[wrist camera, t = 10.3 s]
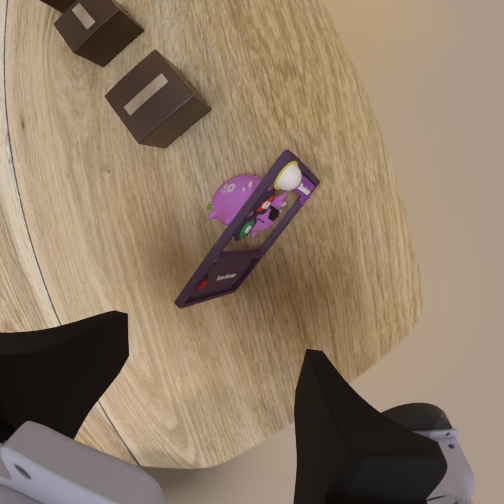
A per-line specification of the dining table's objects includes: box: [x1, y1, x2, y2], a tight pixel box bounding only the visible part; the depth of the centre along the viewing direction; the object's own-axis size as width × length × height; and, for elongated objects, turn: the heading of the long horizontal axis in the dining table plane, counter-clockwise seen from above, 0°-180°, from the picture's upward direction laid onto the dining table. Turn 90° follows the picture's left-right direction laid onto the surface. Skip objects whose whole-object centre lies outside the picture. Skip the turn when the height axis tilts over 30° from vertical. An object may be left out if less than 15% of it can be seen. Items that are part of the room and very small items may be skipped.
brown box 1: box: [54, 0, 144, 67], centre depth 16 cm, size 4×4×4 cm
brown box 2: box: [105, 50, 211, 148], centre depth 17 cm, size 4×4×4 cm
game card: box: [174, 150, 320, 309], centre depth 18 cm, size 7×5×9 cm
